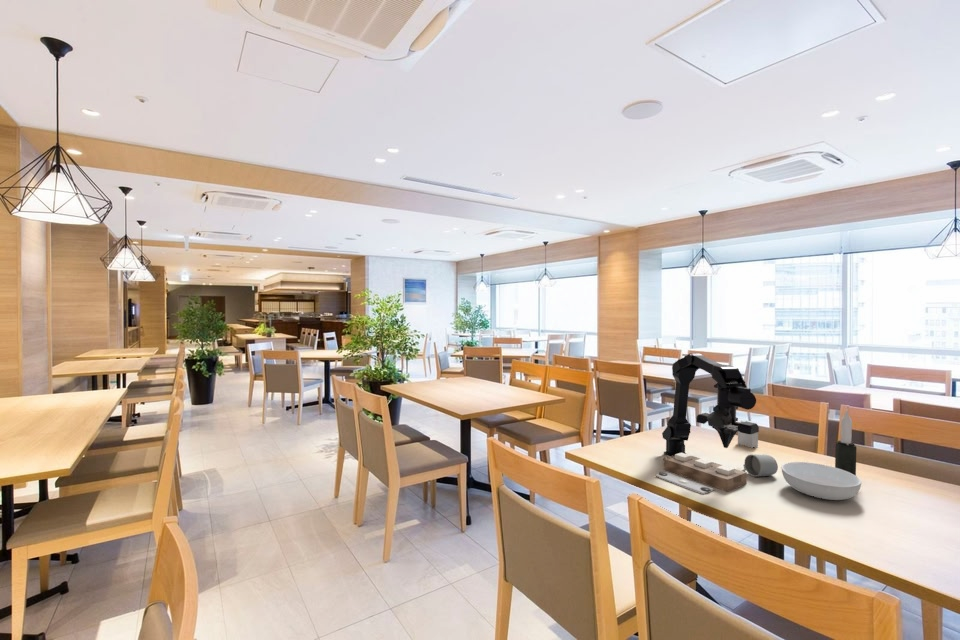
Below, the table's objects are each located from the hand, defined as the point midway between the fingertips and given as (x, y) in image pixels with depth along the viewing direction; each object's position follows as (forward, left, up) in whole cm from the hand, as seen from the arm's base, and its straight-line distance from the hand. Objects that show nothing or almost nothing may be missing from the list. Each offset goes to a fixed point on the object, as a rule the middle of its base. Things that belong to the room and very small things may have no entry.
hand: (725, 447), depth 154 cm
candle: (+21, +39, -13) cm, 46 cm away
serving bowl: (+21, +18, -13) cm, 31 cm away
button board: (-8, 0, -13) cm, 15 cm away
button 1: (-16, 0, -10) cm, 19 cm away
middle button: (-8, 0, -10) cm, 13 cm away
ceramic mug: (+1, +19, -13) cm, 23 cm away
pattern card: (-8, -12, -13) cm, 19 cm away
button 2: (0, 0, -10) cm, 10 cm away
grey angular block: (-18, +51, -13) cm, 56 cm away
